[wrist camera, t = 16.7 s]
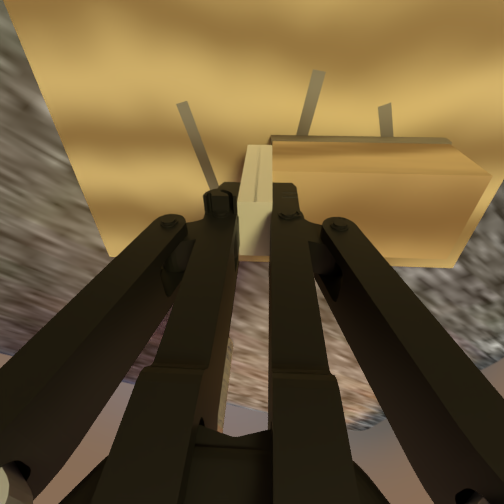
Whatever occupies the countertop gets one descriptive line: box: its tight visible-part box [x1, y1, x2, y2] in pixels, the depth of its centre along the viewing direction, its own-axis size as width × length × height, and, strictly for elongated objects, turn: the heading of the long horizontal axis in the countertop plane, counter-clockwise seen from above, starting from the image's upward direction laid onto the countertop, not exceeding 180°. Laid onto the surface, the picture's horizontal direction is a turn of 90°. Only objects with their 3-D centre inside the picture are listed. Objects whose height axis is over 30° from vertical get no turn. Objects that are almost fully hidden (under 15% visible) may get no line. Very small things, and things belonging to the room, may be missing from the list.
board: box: [3, 0, 504, 268], centre depth 19 cm, size 18×28×2 cm, turn 90°
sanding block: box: [271, 135, 493, 260], centre depth 17 cm, size 5×10×5 cm, turn 90°
